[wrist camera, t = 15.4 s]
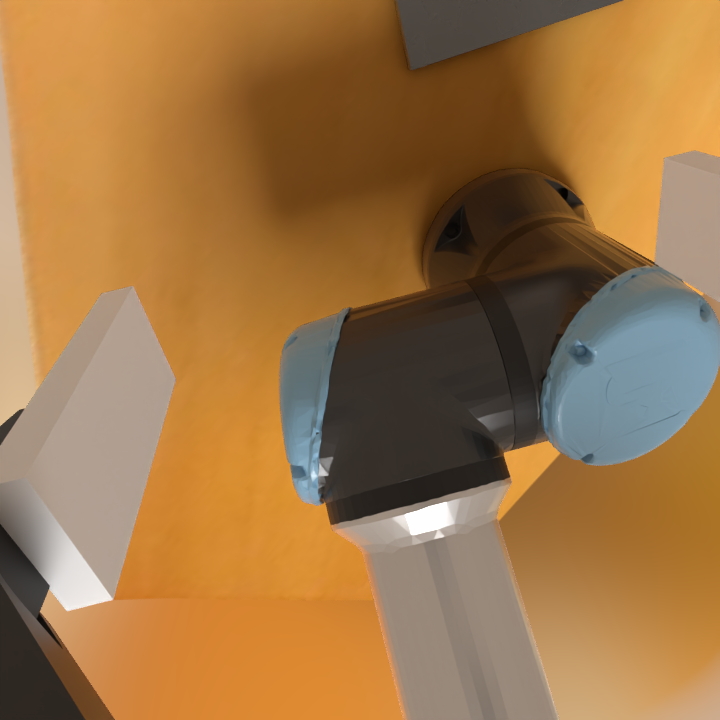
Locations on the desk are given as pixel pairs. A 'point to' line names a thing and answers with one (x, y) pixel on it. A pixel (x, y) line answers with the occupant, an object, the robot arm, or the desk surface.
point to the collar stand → (475, 23)
